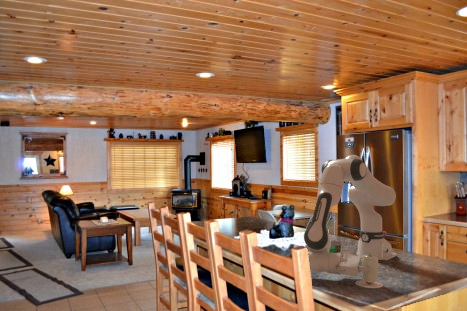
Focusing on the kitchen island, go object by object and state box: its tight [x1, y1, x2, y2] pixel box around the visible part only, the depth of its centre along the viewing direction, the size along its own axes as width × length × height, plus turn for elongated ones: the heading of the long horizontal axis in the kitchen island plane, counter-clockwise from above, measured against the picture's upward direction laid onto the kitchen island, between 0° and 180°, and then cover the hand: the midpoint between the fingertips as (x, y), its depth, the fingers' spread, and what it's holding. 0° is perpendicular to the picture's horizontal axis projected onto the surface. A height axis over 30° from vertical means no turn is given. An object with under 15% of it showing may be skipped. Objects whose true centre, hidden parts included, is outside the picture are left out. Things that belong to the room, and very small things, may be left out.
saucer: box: [354, 279, 384, 289], centre depth 170 cm, size 11×11×1 cm
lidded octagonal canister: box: [361, 253, 379, 283], centre depth 170 cm, size 6×6×11 cm
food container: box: [329, 239, 343, 253], centre depth 217 cm, size 12×6×10 cm, turn 21°
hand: (371, 266), depth 170 cm, fingers closed on lidded octagonal canister, 6 cm apart
